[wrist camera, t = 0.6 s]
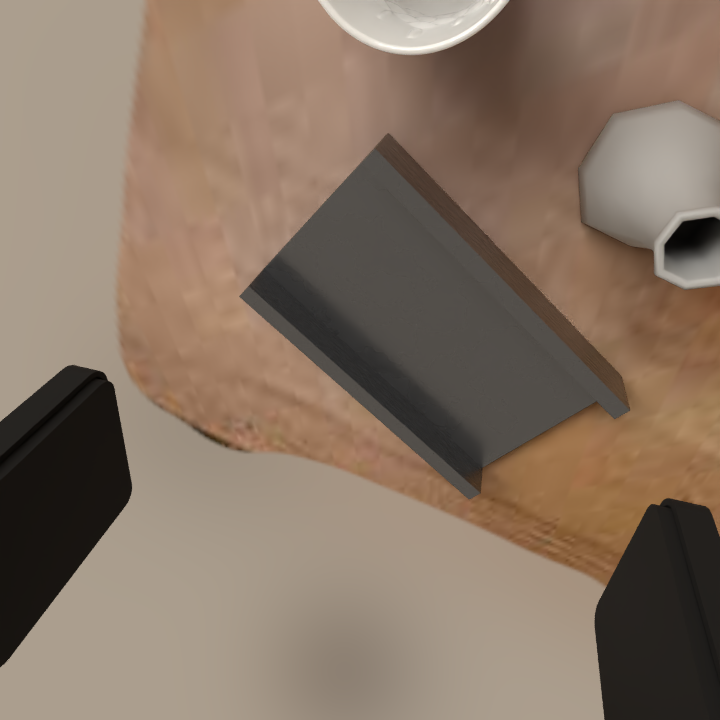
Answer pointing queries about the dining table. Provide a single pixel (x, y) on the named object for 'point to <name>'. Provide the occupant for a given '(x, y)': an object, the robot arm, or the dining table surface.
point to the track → (429, 321)
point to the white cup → (412, 22)
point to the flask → (659, 189)
